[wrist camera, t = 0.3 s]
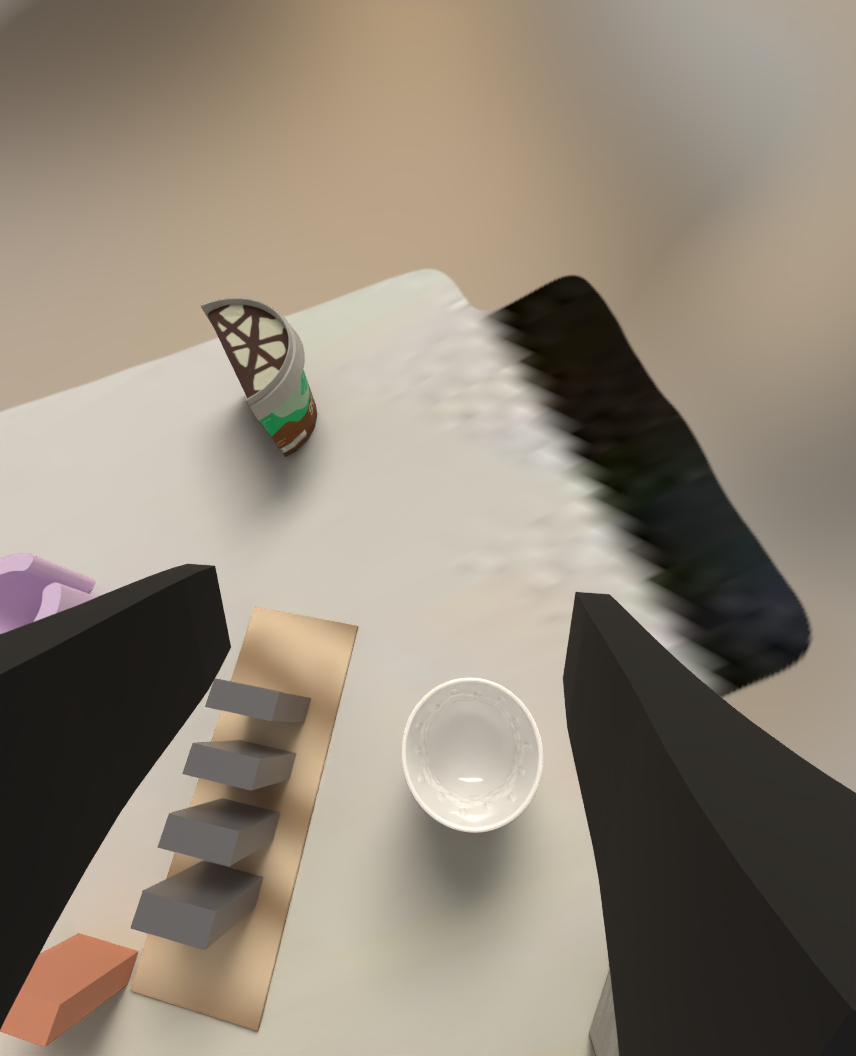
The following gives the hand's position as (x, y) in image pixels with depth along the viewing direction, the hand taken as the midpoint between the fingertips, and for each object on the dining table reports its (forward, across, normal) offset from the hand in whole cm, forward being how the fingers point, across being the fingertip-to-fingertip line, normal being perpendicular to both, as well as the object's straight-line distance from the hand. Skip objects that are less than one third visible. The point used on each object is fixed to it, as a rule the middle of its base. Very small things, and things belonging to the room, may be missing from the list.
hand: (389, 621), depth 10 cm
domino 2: (+17, +14, +26) cm, 34 cm away
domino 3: (+14, +14, +28) cm, 35 cm away
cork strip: (+16, +14, +27) cm, 34 cm away
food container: (+40, +18, +4) cm, 44 cm away
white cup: (+19, -2, +24) cm, 31 cm away
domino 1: (+20, +13, +23) cm, 33 cm away
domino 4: (+11, +15, +31) cm, 36 cm away
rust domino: (+8, +22, +35) cm, 42 cm away
